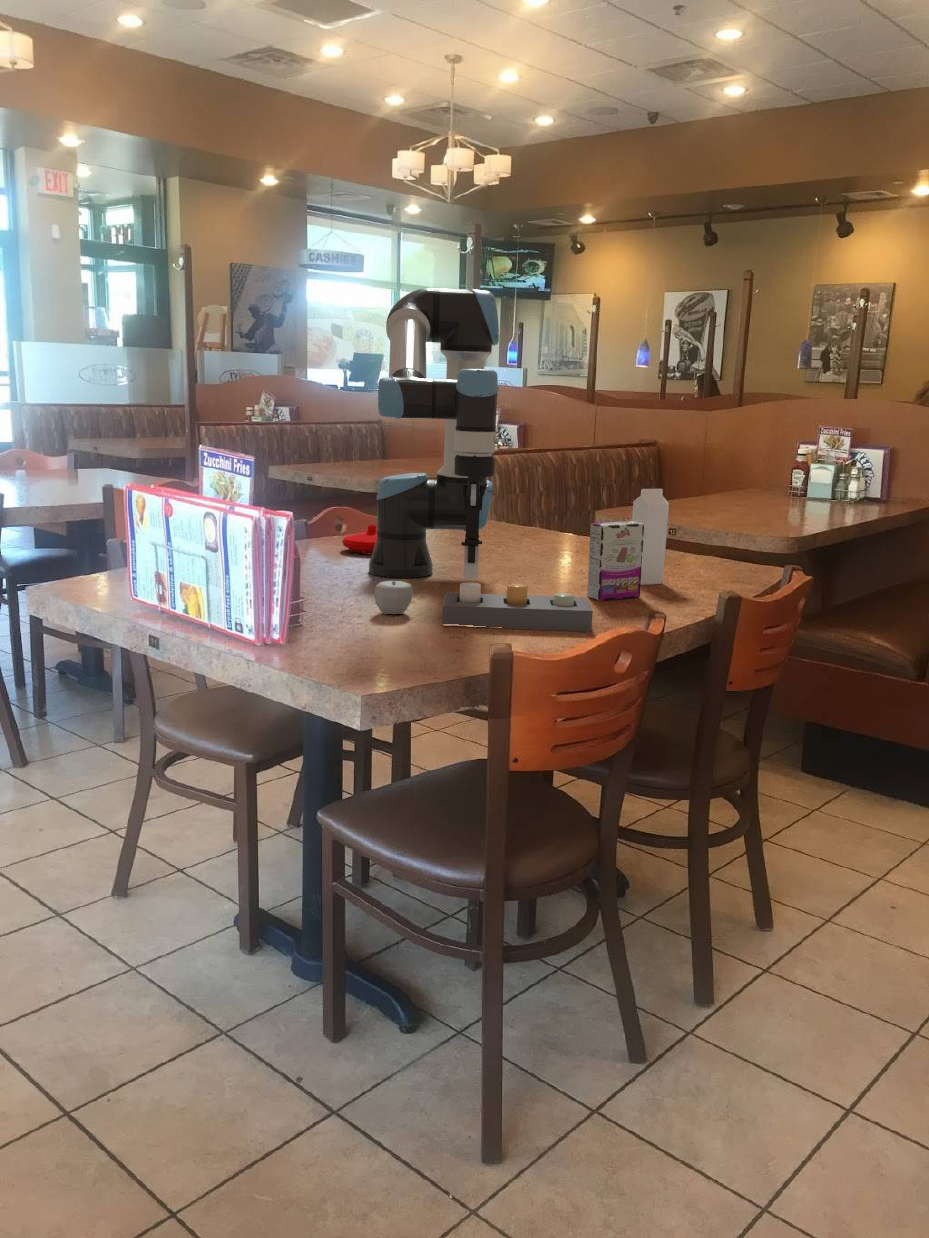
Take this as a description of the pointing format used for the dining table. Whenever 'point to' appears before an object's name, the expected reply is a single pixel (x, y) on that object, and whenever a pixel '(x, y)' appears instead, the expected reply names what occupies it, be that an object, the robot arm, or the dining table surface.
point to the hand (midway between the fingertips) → (470, 578)
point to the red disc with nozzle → (362, 540)
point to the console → (518, 613)
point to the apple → (393, 596)
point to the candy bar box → (615, 560)
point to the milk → (652, 533)
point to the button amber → (516, 594)
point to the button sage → (563, 599)
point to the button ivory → (470, 592)
